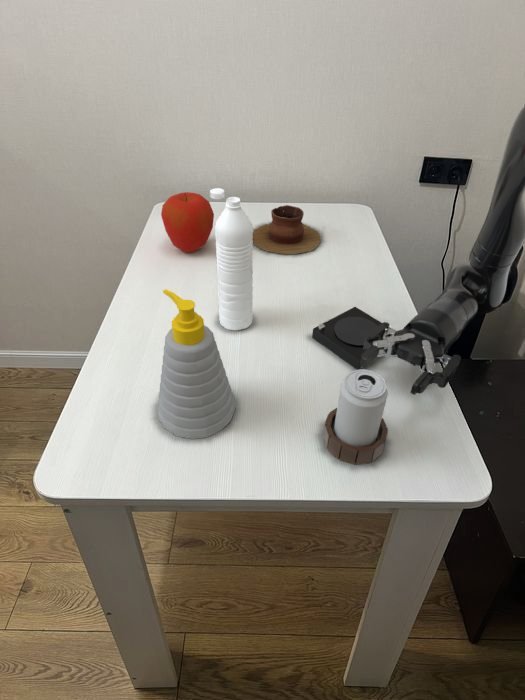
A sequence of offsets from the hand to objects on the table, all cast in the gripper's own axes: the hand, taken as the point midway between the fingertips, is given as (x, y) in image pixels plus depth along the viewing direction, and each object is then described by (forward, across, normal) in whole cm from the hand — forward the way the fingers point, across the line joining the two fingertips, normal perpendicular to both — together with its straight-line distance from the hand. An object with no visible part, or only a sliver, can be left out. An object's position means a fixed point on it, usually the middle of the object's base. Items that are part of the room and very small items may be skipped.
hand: (387, 376), depth 73 cm
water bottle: (-3, -35, +8) cm, 36 cm away
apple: (-16, -62, +8) cm, 64 cm away
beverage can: (+8, 0, +8) cm, 11 cm away
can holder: (+8, 0, +8) cm, 11 cm away
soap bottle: (+19, -22, +8) cm, 30 cm away
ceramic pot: (-36, -48, +8) cm, 61 cm away
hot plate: (-13, -13, +8) cm, 20 cm away
